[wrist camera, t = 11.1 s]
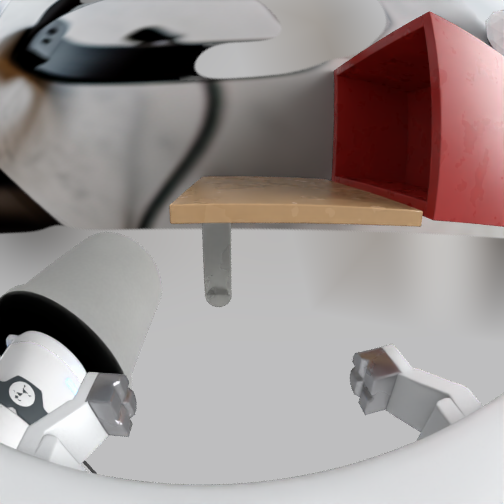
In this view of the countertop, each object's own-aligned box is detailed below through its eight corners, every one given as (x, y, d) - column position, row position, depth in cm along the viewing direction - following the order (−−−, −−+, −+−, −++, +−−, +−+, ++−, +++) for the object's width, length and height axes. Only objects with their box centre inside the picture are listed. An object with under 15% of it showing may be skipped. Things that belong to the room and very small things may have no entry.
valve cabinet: (331, 183, 27) (433, 220, 12) (333, 70, 23) (429, 10, 8) (405, 190, 28) (517, 228, 13) (408, 88, 24) (518, 67, 9)
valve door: (321, 238, 28) (400, 319, 14) (203, 239, 27) (179, 332, 13) (325, 178, 26) (423, 211, 12) (202, 176, 25) (168, 204, 11)
